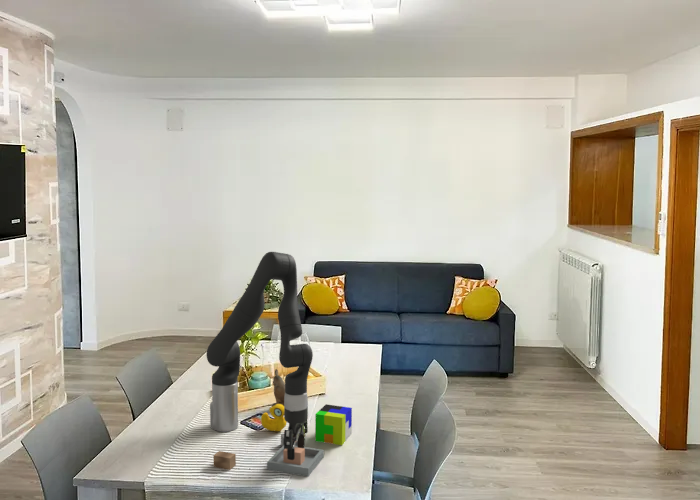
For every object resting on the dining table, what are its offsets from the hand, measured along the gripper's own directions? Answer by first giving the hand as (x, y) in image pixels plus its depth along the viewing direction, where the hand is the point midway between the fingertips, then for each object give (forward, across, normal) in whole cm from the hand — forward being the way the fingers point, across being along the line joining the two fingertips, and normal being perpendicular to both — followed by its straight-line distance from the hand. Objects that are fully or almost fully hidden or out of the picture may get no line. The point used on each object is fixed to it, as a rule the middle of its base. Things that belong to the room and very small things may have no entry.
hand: (296, 453), depth 204 cm
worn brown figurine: (+4, -43, -22) cm, 48 cm away
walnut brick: (+4, +9, -21) cm, 23 cm away
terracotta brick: (+3, 0, -1) cm, 3 cm away
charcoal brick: (+4, -12, -7) cm, 14 cm away
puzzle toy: (+4, -23, +5) cm, 24 cm away
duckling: (+4, -22, -17) cm, 28 cm away
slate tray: (+3, 0, 0) cm, 3 cm away
